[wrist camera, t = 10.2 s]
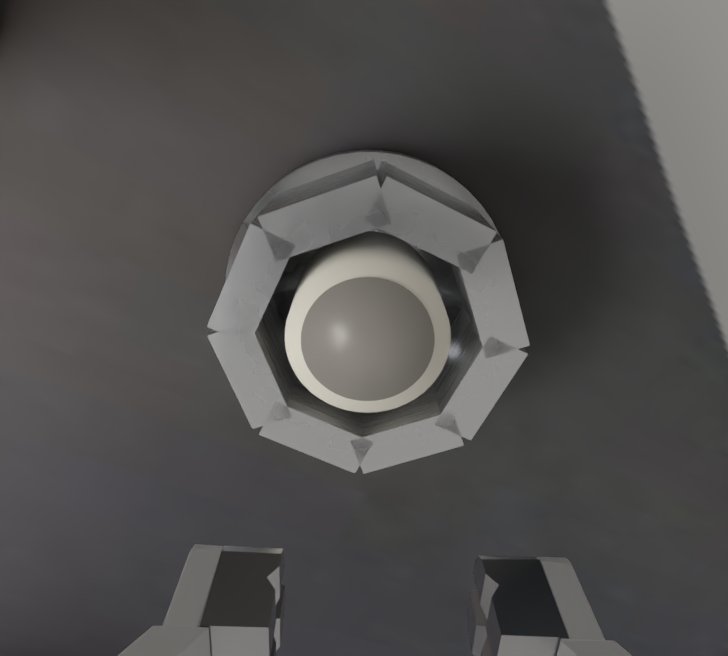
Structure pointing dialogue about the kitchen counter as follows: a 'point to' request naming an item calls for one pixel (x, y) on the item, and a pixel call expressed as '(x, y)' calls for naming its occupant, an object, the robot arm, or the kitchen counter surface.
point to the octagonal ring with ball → (451, 274)
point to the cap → (367, 324)
